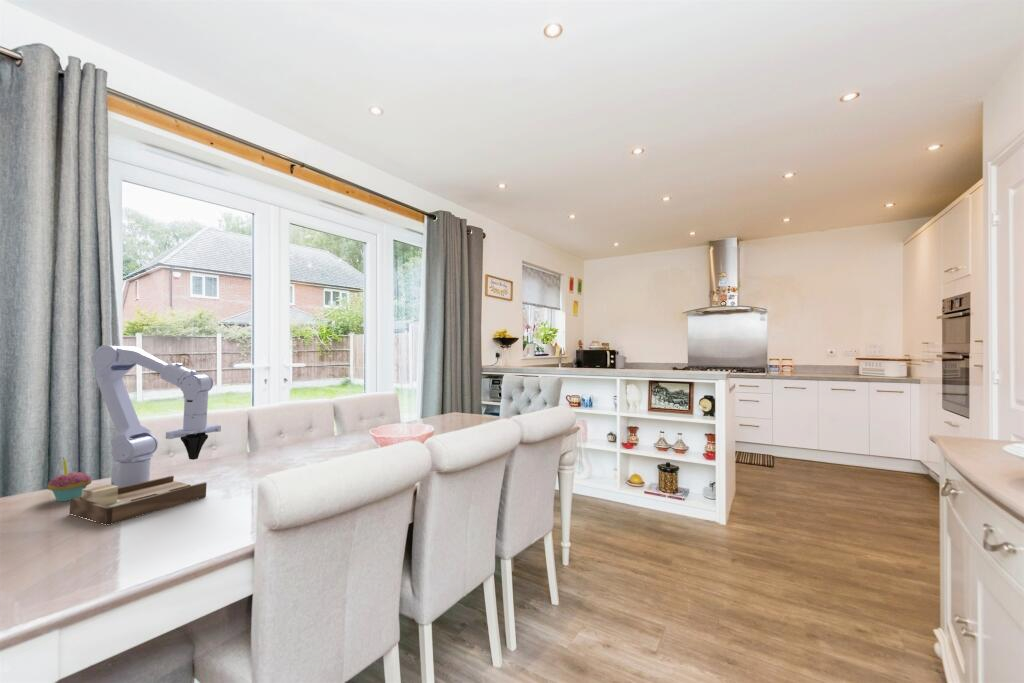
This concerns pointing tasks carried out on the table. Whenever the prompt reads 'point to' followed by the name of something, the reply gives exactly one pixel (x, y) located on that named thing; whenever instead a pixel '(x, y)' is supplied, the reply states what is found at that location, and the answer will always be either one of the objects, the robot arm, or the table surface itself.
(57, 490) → the cupcake
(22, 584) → the table surface
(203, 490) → the trap track
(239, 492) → the table surface
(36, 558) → the table surface
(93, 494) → the birch block
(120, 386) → the robot arm
